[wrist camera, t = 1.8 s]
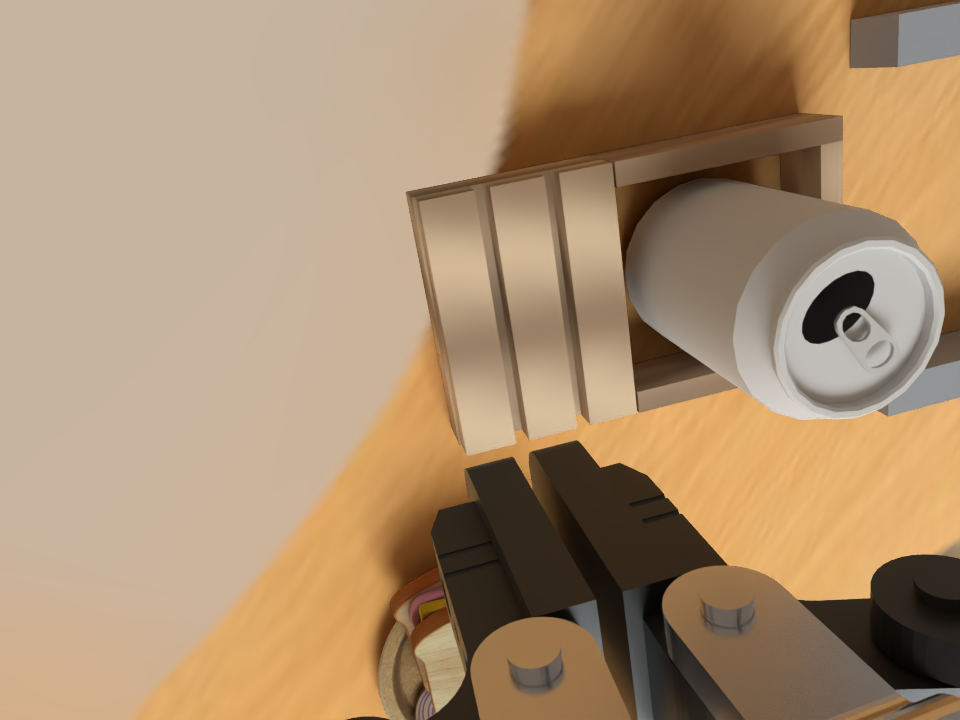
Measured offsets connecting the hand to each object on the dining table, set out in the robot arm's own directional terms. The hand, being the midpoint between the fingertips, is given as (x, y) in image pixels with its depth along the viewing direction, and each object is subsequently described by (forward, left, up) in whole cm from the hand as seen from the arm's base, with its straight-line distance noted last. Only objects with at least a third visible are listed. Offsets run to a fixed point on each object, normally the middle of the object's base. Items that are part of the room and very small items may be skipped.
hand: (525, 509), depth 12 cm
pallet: (+4, +11, -23) cm, 26 cm away
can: (+4, +14, -23) cm, 27 cm away
